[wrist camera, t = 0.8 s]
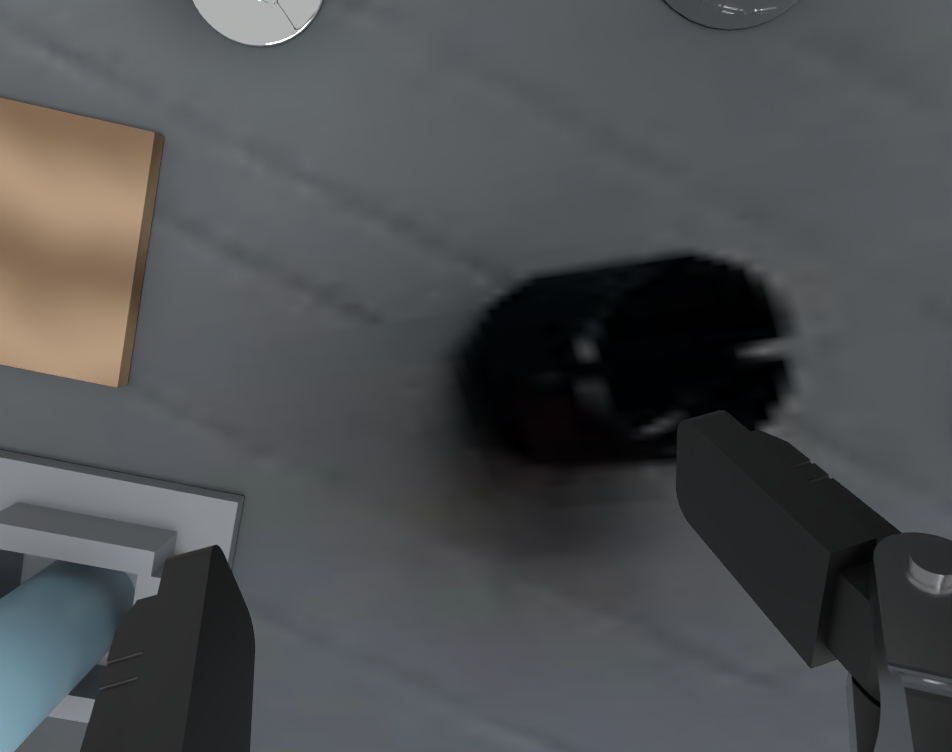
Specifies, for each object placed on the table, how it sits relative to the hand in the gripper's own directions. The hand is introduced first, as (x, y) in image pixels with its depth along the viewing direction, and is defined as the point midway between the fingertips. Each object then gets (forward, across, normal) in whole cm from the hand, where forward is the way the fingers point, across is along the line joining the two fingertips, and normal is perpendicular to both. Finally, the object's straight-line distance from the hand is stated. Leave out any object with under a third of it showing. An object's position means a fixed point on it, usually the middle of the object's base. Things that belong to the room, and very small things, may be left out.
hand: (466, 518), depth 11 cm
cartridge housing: (+20, +17, +16) cm, 31 cm away
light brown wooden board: (+27, +16, -1) cm, 31 cm away
